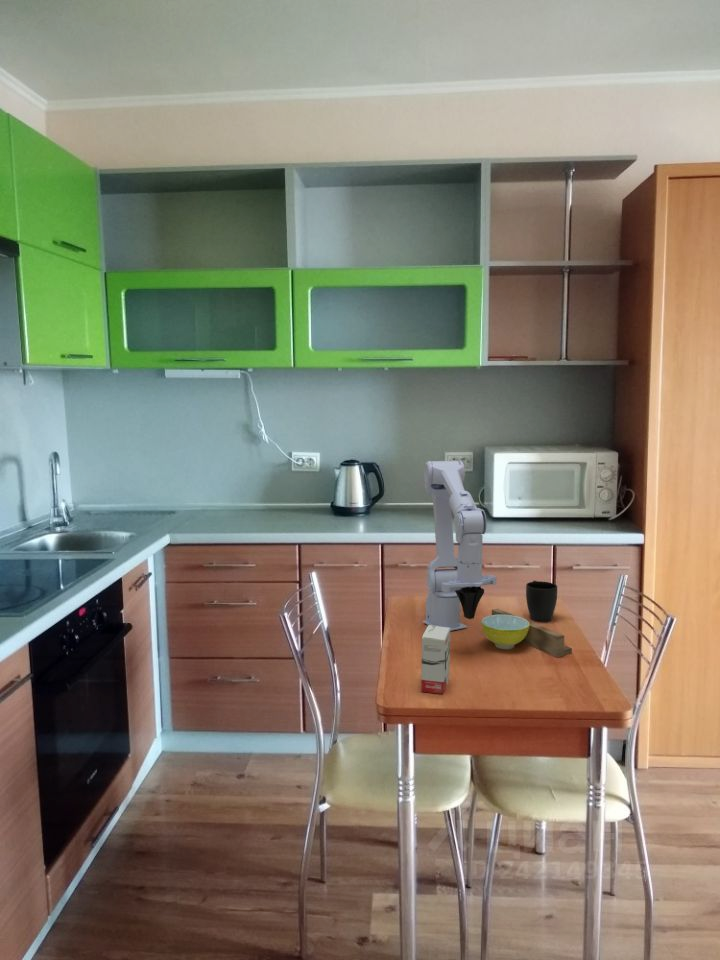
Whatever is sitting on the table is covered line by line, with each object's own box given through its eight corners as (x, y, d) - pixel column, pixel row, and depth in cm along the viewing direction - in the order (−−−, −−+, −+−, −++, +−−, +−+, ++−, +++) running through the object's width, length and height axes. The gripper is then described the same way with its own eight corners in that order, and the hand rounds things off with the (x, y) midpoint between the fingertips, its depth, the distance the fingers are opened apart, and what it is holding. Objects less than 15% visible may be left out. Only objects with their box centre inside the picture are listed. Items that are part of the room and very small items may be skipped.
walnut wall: (491, 628, 183) (491, 609, 182) (506, 625, 185) (506, 606, 185) (557, 657, 162) (557, 636, 161) (573, 653, 164) (573, 633, 164)
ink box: (444, 694, 142) (444, 639, 141) (420, 692, 144) (420, 637, 142) (450, 678, 150) (450, 625, 149) (427, 676, 152) (427, 624, 150)
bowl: (520, 658, 162) (520, 632, 161) (474, 649, 168) (474, 624, 167) (535, 643, 172) (535, 619, 171) (490, 635, 177) (491, 611, 177)
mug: (549, 610, 198) (550, 577, 197) (559, 624, 186) (560, 589, 185) (520, 610, 198) (521, 577, 197) (528, 623, 186) (529, 589, 185)
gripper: (454, 568, 155) (454, 627, 157) (505, 561, 162) (504, 617, 164) (436, 562, 161) (436, 618, 163) (486, 555, 168) (485, 609, 170)
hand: (469, 617), depth 164 cm, fingers closed
